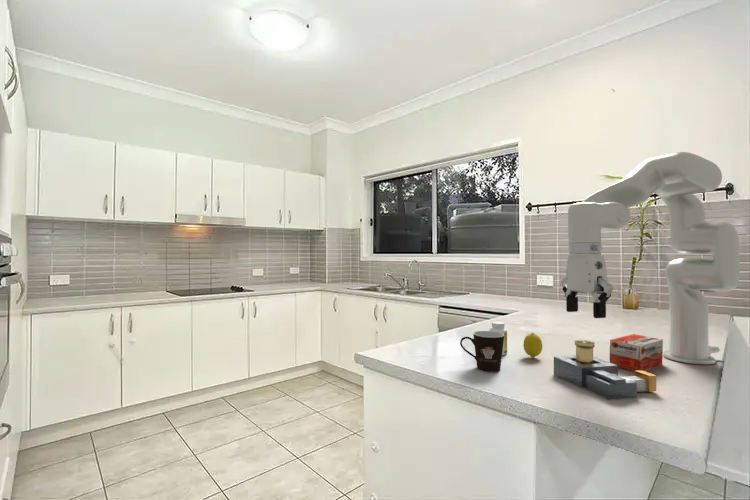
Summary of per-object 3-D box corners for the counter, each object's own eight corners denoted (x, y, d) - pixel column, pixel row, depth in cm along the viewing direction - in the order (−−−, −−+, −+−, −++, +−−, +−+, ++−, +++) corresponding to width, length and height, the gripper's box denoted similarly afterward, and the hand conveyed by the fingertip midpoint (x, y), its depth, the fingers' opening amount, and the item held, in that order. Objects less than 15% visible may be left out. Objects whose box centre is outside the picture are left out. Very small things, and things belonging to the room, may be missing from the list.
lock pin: (641, 385, 95) (641, 370, 95) (656, 391, 91) (656, 375, 91) (614, 387, 94) (614, 372, 94) (628, 393, 90) (628, 377, 90)
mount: (586, 372, 107) (586, 354, 107) (644, 396, 89) (644, 375, 89) (553, 374, 105) (553, 356, 105) (606, 400, 87) (606, 378, 87)
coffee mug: (509, 368, 110) (509, 333, 110) (495, 375, 104) (495, 338, 104) (472, 360, 118) (472, 328, 118) (458, 366, 112) (458, 332, 112)
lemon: (544, 361, 118) (544, 335, 118) (525, 360, 119) (525, 334, 119) (540, 356, 123) (540, 331, 123) (522, 355, 124) (522, 330, 124)
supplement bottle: (502, 351, 129) (502, 320, 129) (510, 355, 124) (510, 324, 124) (486, 351, 128) (486, 321, 128) (494, 356, 123) (494, 324, 123)
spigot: (585, 376, 103) (585, 339, 103) (598, 382, 99) (598, 343, 99) (570, 377, 102) (570, 340, 102) (583, 383, 98) (583, 344, 98)
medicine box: (639, 374, 106) (639, 345, 106) (608, 366, 113) (608, 339, 113) (663, 365, 114) (663, 338, 114) (633, 358, 121) (633, 333, 121)
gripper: (624, 249, 93) (625, 319, 93) (573, 249, 110) (574, 308, 110) (597, 250, 91) (598, 321, 91) (550, 250, 108) (551, 310, 108)
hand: (585, 314), depth 101 cm, fingers open, 9 cm apart
